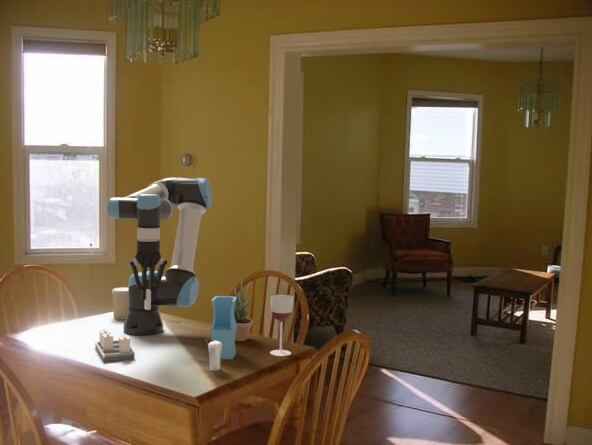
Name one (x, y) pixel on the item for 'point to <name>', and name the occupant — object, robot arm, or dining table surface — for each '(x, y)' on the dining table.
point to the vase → (224, 324)
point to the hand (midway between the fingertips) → (147, 308)
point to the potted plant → (242, 315)
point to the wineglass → (281, 316)
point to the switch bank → (113, 353)
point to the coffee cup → (120, 302)
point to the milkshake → (214, 355)
